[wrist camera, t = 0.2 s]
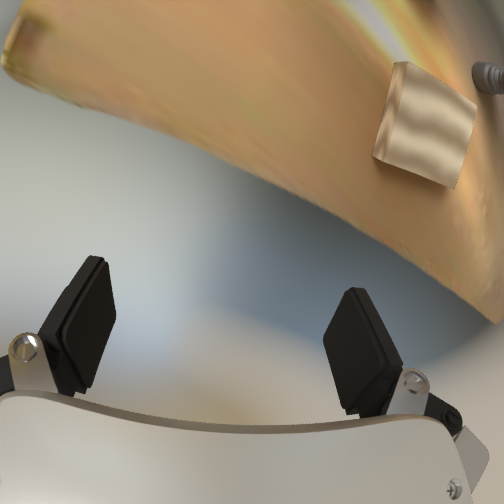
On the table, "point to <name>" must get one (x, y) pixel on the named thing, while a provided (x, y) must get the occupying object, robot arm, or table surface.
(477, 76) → the candle holder
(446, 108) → the wood base
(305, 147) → the table surface
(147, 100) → the table surface
